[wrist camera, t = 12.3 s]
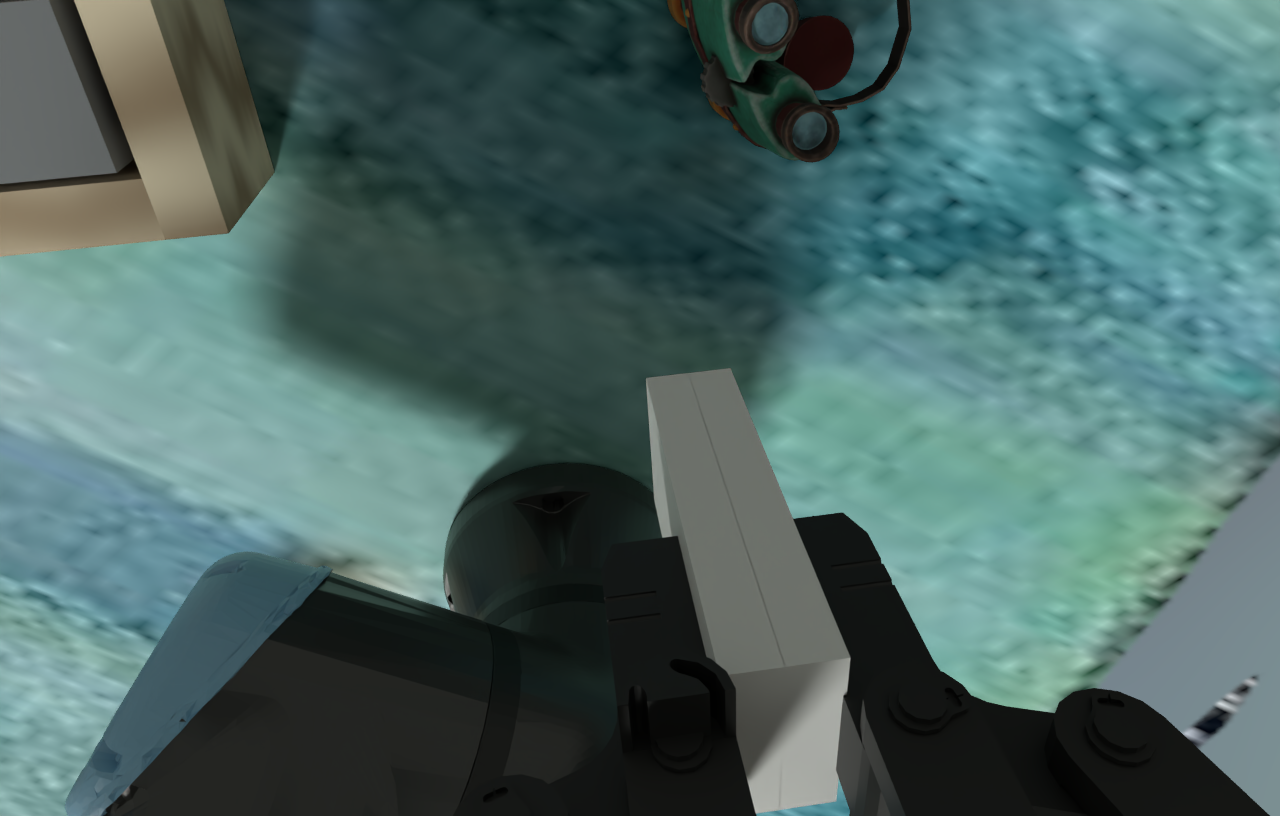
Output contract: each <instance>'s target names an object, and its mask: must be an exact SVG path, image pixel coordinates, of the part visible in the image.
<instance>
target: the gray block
mask: <svg viewBox="0 0 1280 816" xmlns="http://www.w3.org/2000/svg"><path fill="white" fill-rule="evenodd" d="M133 159H134V157H133V154H132V151H131V149H130V146H129V143H128V141H127V138H126V135H125V133H124V130H123V128H122V125H121V122H120V120H119V117H118V114H117V112H116V109H115V107H114V104H113V101H112V99H111V96H110V93H109V91H108V88H107V86H106V83H105V80H104V78H103V75H102V72H101V70H100V67H99V65H98V62H97V59H96V57H95V54H94V51H93V49H92V46H91V44H90V41H89V38H88V36H87V33H86V30H85V28H84V25H83V23H82V20H81V17H80V15H79V12H78V9H77V7H76V4H75V2H74V0H0V184H6V183H17V182H27V181H38V180H48V179H58V178H69V177H79V176H89V175H100V174H110V173H117V172H119V171H120V170H121V169H122V168H124V167H125V166H126V165H127V164H129V163H130V162H131V161H132V160H133Z"/></svg>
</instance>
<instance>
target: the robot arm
mask: <svg viewBox="0 0 1280 816" xmlns="http://www.w3.org/2000/svg"><path fill="white" fill-rule="evenodd" d="M646 387H647V402H648V416H649V431H650V445H651V460H652V474H653V489H654V494H653V493H652V492H651V491H650V490H648V489H647V488H646V487H645V486H643V485H642V484H640V483H639V482H637V481H635V480H634V479H632V478H630V477H628V476H626V475H623V474H621V473H619V472H616V471H613V470H610V469H606V468H602V467H598V466H593V465H585V464H551V465H543V466H538V467H533V468H529V469H525V470H522V471H519V472H516V473H514V474H511V475H508V476H506V477H504V478H502V479H500V480H498V481H496V482H494V483H493V484H491V485H490V486H488V487H486V488H485V489H484V490H482V491H481V492H480V493H478V494H477V495H476V496H475V497H474V498H473V499H472V500H471V501H470V502H469V503H468V504H467V505H466V506H465V507H464V508H463V509H462V511H461V512H460V513H459V515H458V516H457V518H456V520H455V521H454V523H453V525H452V527H451V529H450V532H449V535H448V538H447V542H446V548H445V558H444V568H443V583H444V590H445V595H446V599H447V602H448V604H449V607H450V610H448V609H445V608H441V607H438V606H435V605H432V604H429V603H426V602H422V601H419V600H416V599H413V598H410V597H407V596H403V595H400V594H397V593H394V592H391V591H388V590H384V589H381V588H378V587H375V586H372V585H369V584H365V583H362V582H359V581H356V580H353V579H350V578H347V577H344V576H341V575H338V574H335V573H332V570H333V569H331V568H329V567H327V566H321V567H319V568H315V567H311V566H307V565H303V564H300V563H296V562H292V561H288V560H284V559H280V558H276V557H272V556H268V555H265V554H261V553H256V552H239V553H234V554H231V555H228V556H226V557H224V558H222V559H220V560H218V561H217V562H215V563H214V564H213V565H212V566H210V567H209V568H208V569H207V570H206V571H205V572H204V573H203V575H202V576H201V578H200V579H199V580H198V582H197V583H196V585H195V586H194V588H193V589H192V591H191V592H190V593H189V595H188V597H187V598H186V600H185V601H184V603H183V604H182V606H181V607H180V609H179V610H178V612H177V614H176V615H175V617H174V618H173V620H172V622H171V623H170V625H169V626H168V628H167V629H166V631H165V633H164V634H163V636H162V638H161V639H160V641H159V642H158V644H157V646H156V647H155V649H154V650H153V652H152V654H151V655H150V657H149V659H148V660H147V662H146V663H145V665H144V667H143V668H142V670H141V672H140V673H139V675H138V677H137V678H136V680H135V682H134V683H133V685H132V687H131V688H130V690H129V692H128V693H127V695H126V697H125V698H124V700H123V702H122V703H121V705H120V707H119V708H118V710H117V712H116V713H115V715H114V717H113V719H112V720H111V722H110V724H109V726H108V727H107V729H106V731H105V733H104V735H103V737H102V739H101V740H100V742H99V743H98V745H97V747H96V748H95V750H94V752H93V754H92V756H91V757H90V759H89V761H88V763H87V764H86V766H85V767H84V769H83V770H82V771H81V773H80V775H79V777H78V778H77V780H76V782H75V784H74V785H73V787H72V789H71V791H70V793H69V795H68V797H67V799H66V803H65V809H66V812H67V815H68V816H756V813H762V812H768V811H775V810H782V809H788V808H795V807H802V806H808V805H815V804H822V803H828V802H835V801H836V797H837V787H838V777H839V780H840V783H841V786H842V789H843V792H844V794H845V797H846V800H847V803H848V806H849V809H850V815H849V816H1270V815H1268V814H1267V813H1266V812H1265V811H1264V810H1263V809H1262V808H1261V807H1260V806H1259V805H1258V804H1257V803H1255V801H1253V800H1252V799H1251V798H1250V797H1249V796H1248V795H1247V794H1246V793H1245V792H1244V791H1243V790H1242V789H1241V788H1240V787H1239V786H1237V785H1236V784H1235V783H1234V782H1233V781H1232V780H1231V779H1230V778H1229V777H1228V776H1227V775H1226V774H1224V773H1223V771H1221V770H1220V769H1219V768H1218V767H1217V766H1216V765H1215V764H1214V763H1213V762H1212V761H1211V760H1210V759H1209V758H1208V757H1206V756H1205V755H1204V754H1203V753H1202V752H1201V751H1200V750H1199V749H1198V748H1197V747H1196V746H1195V745H1194V744H1193V743H1192V742H1190V741H1189V740H1188V739H1187V738H1186V737H1185V736H1184V735H1183V734H1182V733H1181V732H1180V731H1179V730H1178V729H1177V728H1175V727H1174V726H1173V725H1172V724H1171V723H1170V722H1169V721H1168V720H1167V719H1166V718H1165V717H1164V716H1162V715H1161V714H1159V713H1158V712H1156V711H1155V710H1154V709H1152V708H1151V707H1150V706H1148V705H1147V704H1146V703H1144V702H1143V701H1141V700H1138V699H1136V698H1133V697H1131V696H1128V695H1126V694H1123V693H1121V692H1118V691H1112V690H1104V689H1097V688H1092V689H1086V690H1081V691H1076V692H1073V693H1071V694H1070V695H1069V696H1067V697H1066V698H1064V699H1063V700H1062V701H1060V702H1059V704H1058V707H1057V710H1056V712H1055V713H1049V712H1042V711H1035V710H1028V709H1021V708H1014V707H1007V706H1002V705H998V704H993V703H989V702H986V701H983V700H981V699H979V698H976V697H974V696H971V695H970V694H969V692H968V691H967V690H966V689H965V687H964V686H963V685H962V684H961V683H959V682H958V681H956V680H955V679H953V678H952V677H950V676H949V675H947V674H945V673H944V672H941V671H940V670H939V668H938V667H937V665H936V664H935V662H934V661H933V659H932V657H931V655H930V653H929V651H928V649H927V647H926V645H925V643H924V642H923V640H922V638H921V636H920V634H919V632H918V630H917V628H916V626H915V624H914V622H913V620H912V618H911V616H910V614H909V612H908V611H907V609H906V607H905V605H904V603H903V601H902V599H901V597H900V595H899V593H898V591H897V589H896V587H895V585H892V580H891V578H890V576H889V574H888V572H887V570H886V568H885V566H884V564H882V563H881V558H880V556H879V554H878V552H877V550H876V548H875V547H874V545H873V543H872V541H871V539H870V537H869V535H868V533H867V532H866V531H864V530H863V529H862V528H861V527H860V526H858V525H857V524H856V523H855V522H854V521H852V520H851V519H850V518H849V517H848V516H846V515H845V514H844V513H835V514H827V515H819V516H812V517H804V518H796V519H793V518H792V515H791V513H790V511H789V508H788V506H787V503H786V501H785V499H784V496H783V494H782V491H781V489H780V487H779V484H778V482H777V479H776V477H775V474H774V472H773V470H772V467H771V465H770V462H769V460H768V458H767V455H766V453H765V450H764V448H763V446H762V443H761V441H760V438H759V436H758V433H757V431H756V429H755V426H754V424H753V421H752V419H751V417H750V414H749V412H748V409H747V407H746V405H745V402H744V400H743V397H742V395H741V393H740V390H739V388H738V385H737V383H736V380H735V378H734V376H733V373H732V371H731V368H727V369H719V370H710V371H701V372H693V373H684V374H675V375H667V376H658V377H650V378H646Z"/></svg>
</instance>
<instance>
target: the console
mask: <svg viewBox="0 0 1280 816" xmlns="http://www.w3.org/2000/svg"><path fill="white" fill-rule="evenodd" d="M74 2H75V4H76V7H77V9H78V12H79V15H80V17H81V20H82V23H83V25H84V28H85V30H86V33H87V36H88V38H89V41H90V44H91V46H92V49H93V51H94V54H95V57H96V59H97V62H98V65H99V67H100V70H101V72H102V75H103V78H104V80H105V83H106V86H107V88H108V91H109V93H110V96H111V99H112V101H113V104H114V107H115V109H116V112H117V114H118V117H119V120H120V122H121V125H122V128H123V130H124V133H125V135H126V138H127V141H128V143H129V146H130V149H131V151H132V154H133V157H134V159H133V160H132V161H131V162H130V163H129V164H127V165H126V166H125V167H124V168H122V169H121V170H120V171H119V172H117V173H110V174H100V175H89V176H79V177H69V178H58V179H48V180H38V181H27V182H17V183H6V184H0V256H10V255H20V254H30V253H39V252H49V251H59V250H69V249H79V248H89V247H99V246H108V245H118V244H128V243H138V242H148V241H158V240H167V239H177V238H187V237H197V236H207V235H217V234H227V233H229V232H230V231H231V230H232V228H233V227H234V226H235V224H236V223H237V222H238V220H239V219H240V218H241V216H242V215H243V214H244V212H245V211H246V210H247V208H248V207H249V206H250V204H251V203H252V202H253V200H254V199H255V198H256V196H257V195H258V194H259V192H260V191H261V190H262V188H263V187H264V186H265V184H266V183H267V182H268V180H269V179H270V178H271V176H272V175H273V174H274V169H273V165H272V162H271V159H270V155H269V152H268V148H267V145H266V142H265V138H264V135H263V131H262V128H261V125H260V121H259V118H258V115H257V111H256V108H255V104H254V101H253V98H252V94H251V91H250V87H249V84H248V81H247V77H246V74H245V70H244V67H243V64H242V60H241V57H240V54H239V50H238V47H237V43H236V40H235V37H234V33H233V30H232V26H231V23H230V20H229V16H228V13H227V9H226V6H225V3H224V0H74Z"/></svg>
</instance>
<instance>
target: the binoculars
mask: <svg viewBox="0 0 1280 816" xmlns="http://www.w3.org/2000/svg"><path fill="white" fill-rule="evenodd" d="M667 3H668V7H669V10H670V13H671V15H672V16H673V18H674V19H675V20H676V21H677V22H678V23H679V24H680V25H682V26H684V27H686V28H687V29H688V32H689V35H690V37H691V40H692V43H693V46H694V48H695V50H696V52H697V55H698V57H699V59H700V61H701V63H702V65H703V67H704V71H703V73H701V76H700V79H702V85H701V88H702V91H704V92H705V93H706V97H707V98H708V100H709V103H710V105H711V106H712V108H713V109H714V110H715V111H716V112H717V113H718V114H720V115H721V116H722V117H723V118H725V119H727V120H730V121H731V122H732V123H733V128H734V129H735V130H738V131H739V133H740V134H741V135H742V136H743V137H745V138H746V139H747V140H749V141H750V142H751V143H753V144H754V145H755V146H759V147H762V148H765V149H768V150H770V151H772V152H774V153H775V154H777V155H779V156H781V157H783V158H786V159H789V160H802V161H805V162H817V161H820V160H823V159H825V158H826V157H827V156H829V155H830V154H831V153H832V152H833V150H834V149H835V147H836V145H837V143H838V140H839V133H840V132H839V125H838V121H837V119H836V117H835V116H834V114H833V113H832V112H833V111H835V110H842V109H847V106H848V105H851V104H855V103H859V102H863V101H865V100H867V99H868V98H870V97H872V96H874V95H875V94H877V93H879V92H881V91H882V90H884V89H885V87H886V86H887V85H888V83H889V82H890V80H891V79H892V78H893V76H894V75H895V73H896V72H897V71H898V69H899V67H900V64H901V61H902V58H903V55H904V51H905V48H906V45H907V42H908V38H909V35H910V32H911V15H910V1H909V0H897V9H898V21H899V28H898V31H897V34H896V37H895V41H894V44H893V47H892V51H891V54H890V57H889V60H888V64H887V65H886V67H885V68H884V69H883V71H882V72H881V74H880V75H879V77H878V78H877V79H876V81H875V82H874V84H872V85H871V86H869V87H867V88H865V89H864V90H862V91H860V92H858V93H856V94H855V95H852V96H848V97H844V98H840V99H836V100H833V101H829V100H818V99H817V97H816V95H815V93H814V91H813V90H824V89H828V88H830V87H832V86H834V85H836V84H837V83H839V82H840V81H841V80H842V79H843V78H844V77H845V75H846V74H847V72H848V70H849V69H850V66H851V63H852V61H853V54H854V44H853V40H852V36H851V34H850V32H849V30H848V28H847V27H846V26H845V25H844V23H842V22H841V21H840V20H838V19H837V18H834V17H831V16H815V17H808V18H805V19H802V20H800V21H799V12H798V8H797V5H796V3H795V2H794V0H667ZM798 21H799V22H798ZM774 60H775V61H774Z"/></svg>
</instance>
